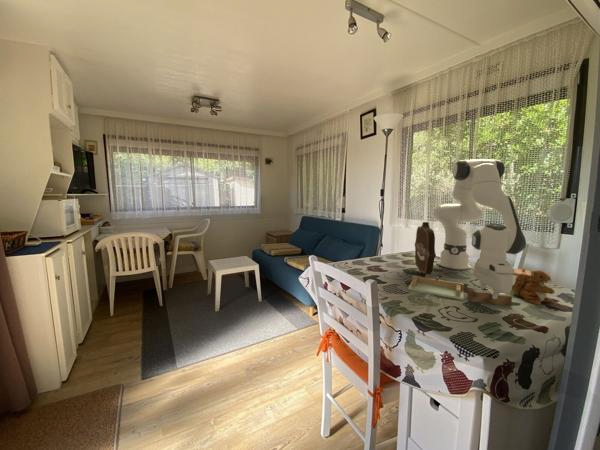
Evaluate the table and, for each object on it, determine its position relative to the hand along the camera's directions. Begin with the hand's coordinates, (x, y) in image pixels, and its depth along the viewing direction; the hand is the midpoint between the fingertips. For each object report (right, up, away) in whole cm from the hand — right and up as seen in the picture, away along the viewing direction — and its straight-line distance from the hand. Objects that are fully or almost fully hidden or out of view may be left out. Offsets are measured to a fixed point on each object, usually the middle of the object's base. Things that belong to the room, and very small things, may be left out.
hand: (488, 295), depth 105 cm
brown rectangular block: (0, -3, 0) cm, 3 cm away
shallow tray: (-16, -1, +12) cm, 20 cm away
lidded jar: (+28, -1, +16) cm, 33 cm away
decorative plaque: (-12, +1, +33) cm, 36 cm away
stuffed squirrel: (+20, -3, +3) cm, 21 cm away
